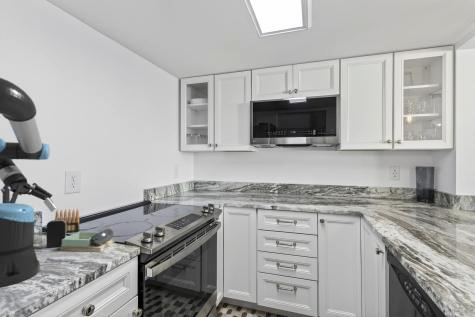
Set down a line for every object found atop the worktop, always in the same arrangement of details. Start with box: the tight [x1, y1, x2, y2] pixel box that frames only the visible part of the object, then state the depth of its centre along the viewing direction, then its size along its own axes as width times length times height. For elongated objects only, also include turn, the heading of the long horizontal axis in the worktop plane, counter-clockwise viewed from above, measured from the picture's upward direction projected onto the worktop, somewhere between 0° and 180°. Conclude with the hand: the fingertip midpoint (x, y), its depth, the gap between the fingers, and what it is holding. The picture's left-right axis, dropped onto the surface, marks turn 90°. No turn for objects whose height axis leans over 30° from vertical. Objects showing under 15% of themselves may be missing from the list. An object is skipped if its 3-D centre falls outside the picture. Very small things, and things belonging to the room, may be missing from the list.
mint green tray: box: [59, 228, 116, 253], centre depth 106 cm, size 12×17×6 cm
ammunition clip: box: [54, 208, 80, 234], centre depth 124 cm, size 11×2×12 cm, turn 113°
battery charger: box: [45, 219, 67, 249], centre depth 105 cm, size 7×4×11 cm, turn 114°
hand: (39, 213), depth 107 cm, fingers open, 13 cm apart
